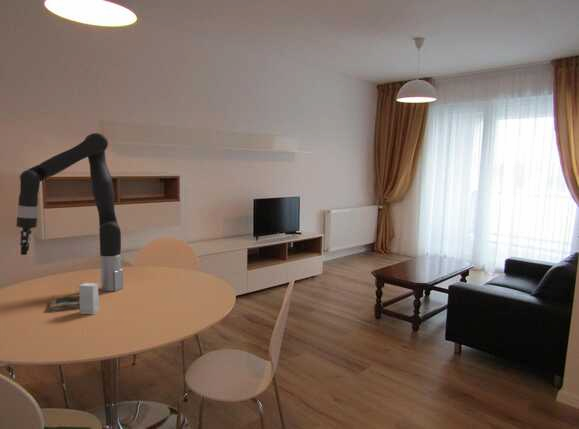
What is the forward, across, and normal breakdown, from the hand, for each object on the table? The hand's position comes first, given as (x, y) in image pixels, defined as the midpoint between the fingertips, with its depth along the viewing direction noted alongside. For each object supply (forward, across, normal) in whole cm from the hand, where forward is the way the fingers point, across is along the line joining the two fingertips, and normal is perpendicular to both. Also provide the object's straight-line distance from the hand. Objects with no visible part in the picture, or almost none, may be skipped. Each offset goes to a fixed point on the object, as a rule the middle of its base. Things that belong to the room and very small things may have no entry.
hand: (24, 252), depth 178 cm
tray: (+20, -14, -18) cm, 30 cm away
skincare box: (+19, -26, -26) cm, 42 cm away
